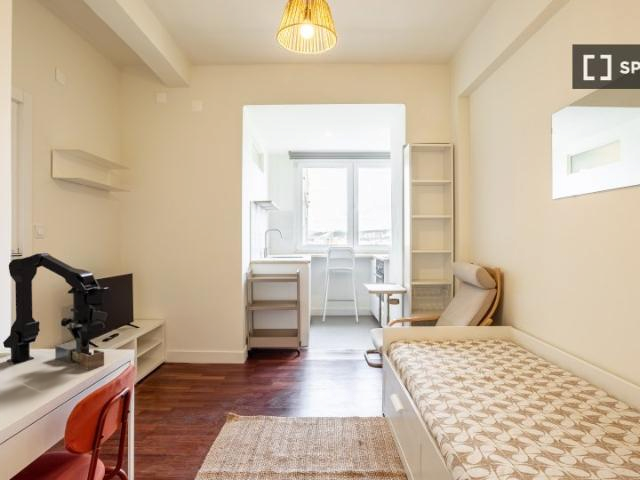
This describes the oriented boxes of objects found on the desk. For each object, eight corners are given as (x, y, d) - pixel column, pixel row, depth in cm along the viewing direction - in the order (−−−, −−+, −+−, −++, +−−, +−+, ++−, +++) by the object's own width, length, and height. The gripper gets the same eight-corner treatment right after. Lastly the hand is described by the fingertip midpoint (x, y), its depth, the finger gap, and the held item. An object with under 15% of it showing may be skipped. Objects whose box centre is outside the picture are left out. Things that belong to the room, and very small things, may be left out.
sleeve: (55, 358, 143) (55, 345, 143) (69, 354, 147) (69, 342, 147) (69, 362, 138) (69, 349, 138) (83, 358, 143) (82, 346, 143)
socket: (80, 366, 134) (80, 353, 134) (95, 362, 139) (95, 349, 139) (89, 369, 131) (89, 356, 131) (104, 365, 136) (104, 351, 136)
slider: (61, 356, 143) (61, 333, 142) (70, 353, 145) (70, 331, 145) (82, 363, 135) (82, 339, 135) (91, 360, 138) (91, 337, 138)
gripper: (117, 303, 140) (118, 344, 141) (90, 299, 149) (90, 337, 150) (87, 309, 130) (88, 352, 131) (60, 304, 139) (60, 344, 140)
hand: (82, 346), depth 138 cm, fingers closed on slider, 3 cm apart
